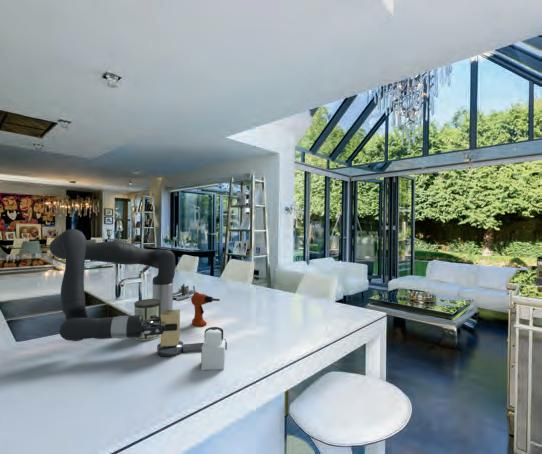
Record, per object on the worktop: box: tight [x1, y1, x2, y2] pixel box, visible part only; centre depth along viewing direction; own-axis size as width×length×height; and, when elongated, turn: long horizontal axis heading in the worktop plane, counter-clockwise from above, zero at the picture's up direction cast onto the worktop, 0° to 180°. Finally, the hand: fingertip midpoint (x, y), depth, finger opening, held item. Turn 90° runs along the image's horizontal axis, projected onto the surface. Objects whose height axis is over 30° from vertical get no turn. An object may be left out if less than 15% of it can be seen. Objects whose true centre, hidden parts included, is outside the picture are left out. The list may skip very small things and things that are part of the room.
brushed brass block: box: [160, 309, 181, 346], centre depth 111 cm, size 6×6×11 cm
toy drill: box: [190, 291, 221, 328], centre depth 139 cm, size 5×19×15 cm, turn 52°
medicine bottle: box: [200, 326, 226, 371], centre depth 101 cm, size 7×7×12 cm
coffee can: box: [133, 298, 161, 342], centre depth 126 cm, size 10×10×14 cm
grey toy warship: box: [173, 283, 198, 301], centre depth 191 cm, size 14×7×20 cm
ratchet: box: [156, 338, 228, 358], centre depth 113 cm, size 24×9×8 cm, turn 103°
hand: (177, 324), depth 112 cm, fingers closed on brushed brass block, 6 cm apart
